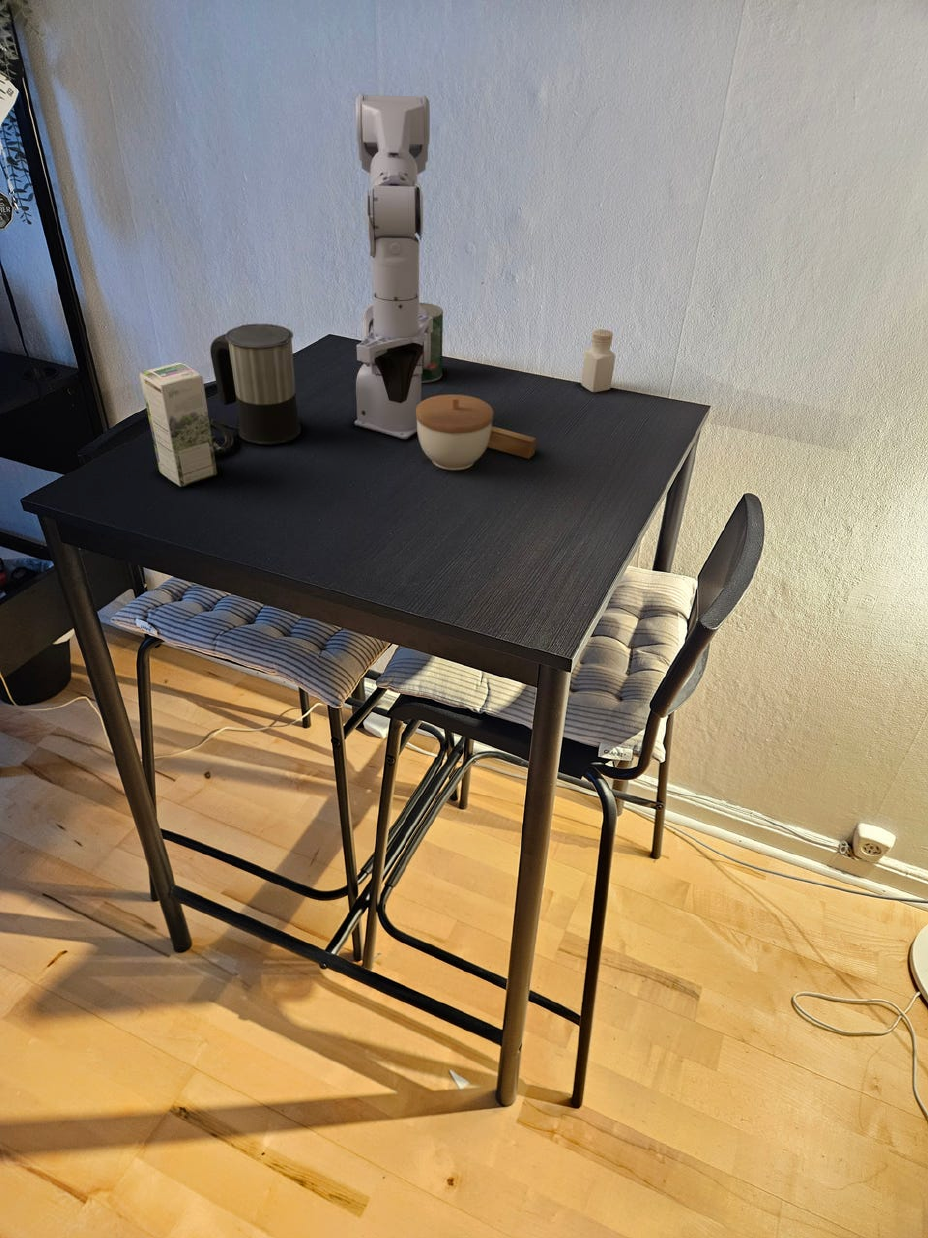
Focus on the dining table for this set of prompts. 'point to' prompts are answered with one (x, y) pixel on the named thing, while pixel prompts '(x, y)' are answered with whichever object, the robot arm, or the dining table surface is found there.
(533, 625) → the dining table surface
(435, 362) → the canned tomato
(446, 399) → the trinket box
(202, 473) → the syrup box
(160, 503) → the dining table surface
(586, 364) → the pepper shaker
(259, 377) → the milk frother
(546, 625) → the dining table surface
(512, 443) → the rail
